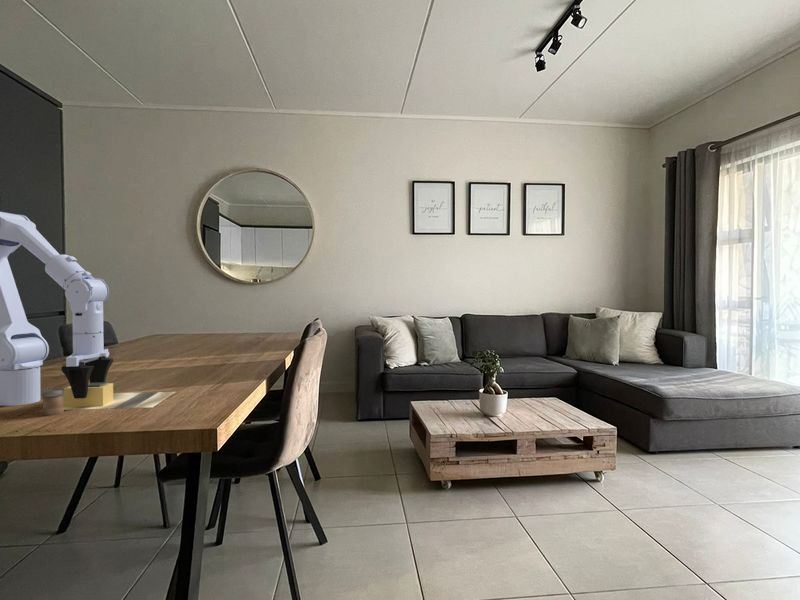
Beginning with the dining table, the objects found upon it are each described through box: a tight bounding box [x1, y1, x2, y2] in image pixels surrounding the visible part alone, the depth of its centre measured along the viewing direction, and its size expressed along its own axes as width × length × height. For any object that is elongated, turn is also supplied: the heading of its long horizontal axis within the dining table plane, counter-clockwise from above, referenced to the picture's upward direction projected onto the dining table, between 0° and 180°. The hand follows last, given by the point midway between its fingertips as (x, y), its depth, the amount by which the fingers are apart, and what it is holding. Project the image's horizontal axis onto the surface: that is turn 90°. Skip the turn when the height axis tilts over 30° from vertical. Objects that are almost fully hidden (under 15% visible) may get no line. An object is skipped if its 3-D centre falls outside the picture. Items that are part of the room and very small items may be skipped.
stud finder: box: [62, 382, 114, 407], centre depth 107 cm, size 8×5×4 cm, turn 98°
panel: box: [64, 391, 176, 411], centre depth 111 cm, size 20×16×1 cm
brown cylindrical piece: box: [41, 387, 65, 417], centre depth 98 cm, size 4×4×6 cm
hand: (89, 394), depth 107 cm, fingers open, 7 cm apart
